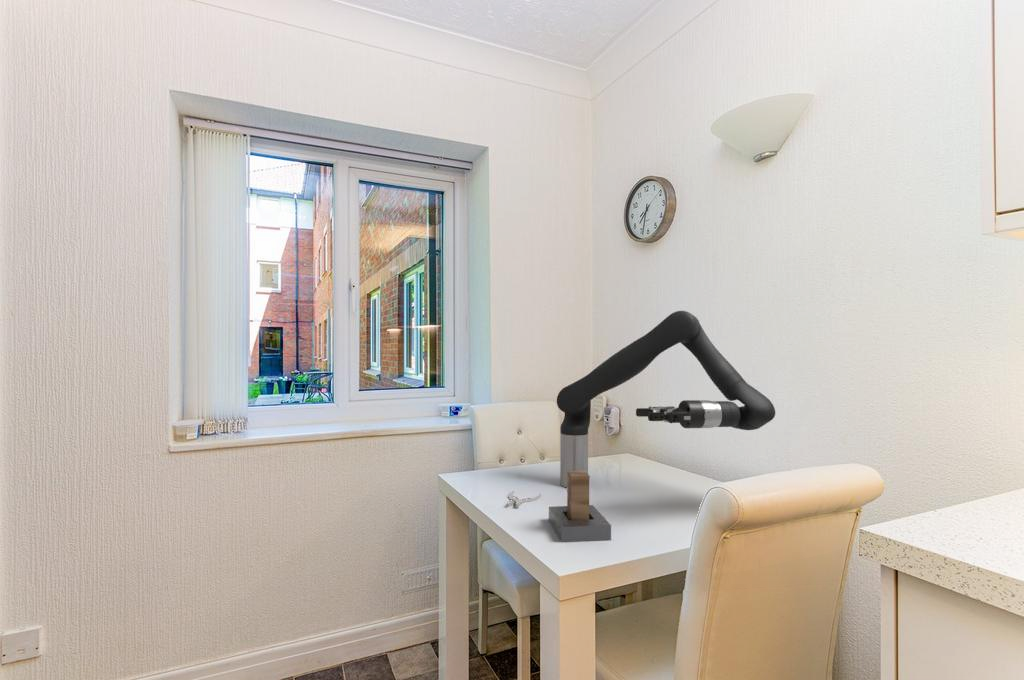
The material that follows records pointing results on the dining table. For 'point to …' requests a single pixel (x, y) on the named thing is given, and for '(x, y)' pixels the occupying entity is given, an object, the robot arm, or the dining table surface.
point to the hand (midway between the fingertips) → (642, 414)
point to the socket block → (579, 525)
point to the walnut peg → (577, 495)
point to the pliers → (519, 500)
